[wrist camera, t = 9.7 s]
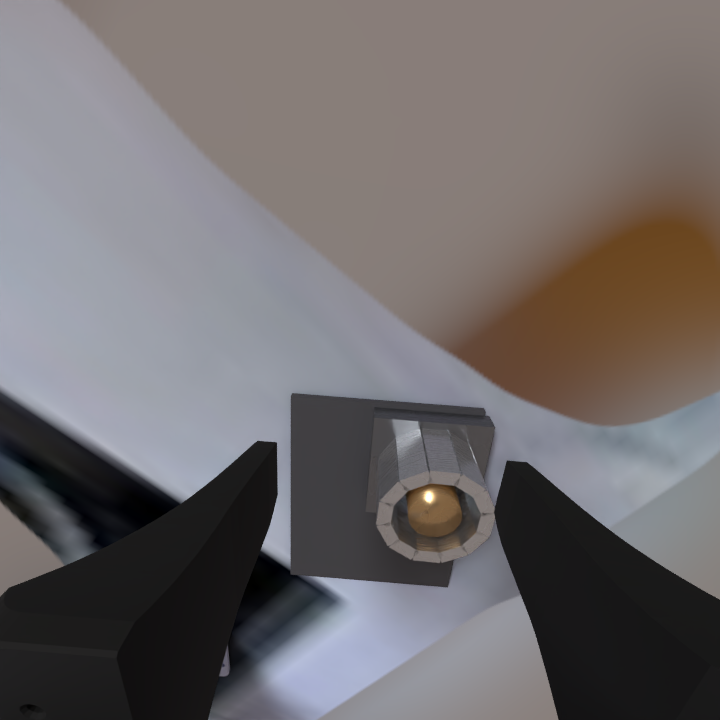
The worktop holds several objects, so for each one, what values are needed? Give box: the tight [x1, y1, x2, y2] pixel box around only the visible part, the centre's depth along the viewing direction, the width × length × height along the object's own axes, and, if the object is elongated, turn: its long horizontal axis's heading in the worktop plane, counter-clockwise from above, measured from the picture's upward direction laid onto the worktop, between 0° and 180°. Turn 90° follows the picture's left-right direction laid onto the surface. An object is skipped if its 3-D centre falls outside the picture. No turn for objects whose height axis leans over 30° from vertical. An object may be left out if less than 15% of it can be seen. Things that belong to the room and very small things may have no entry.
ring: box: [376, 428, 495, 563], centre depth 20 cm, size 6×6×4 cm
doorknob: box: [366, 407, 495, 537], centre depth 21 cm, size 6×6×5 cm
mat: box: [291, 393, 485, 587], centre depth 25 cm, size 14×11×1 cm
